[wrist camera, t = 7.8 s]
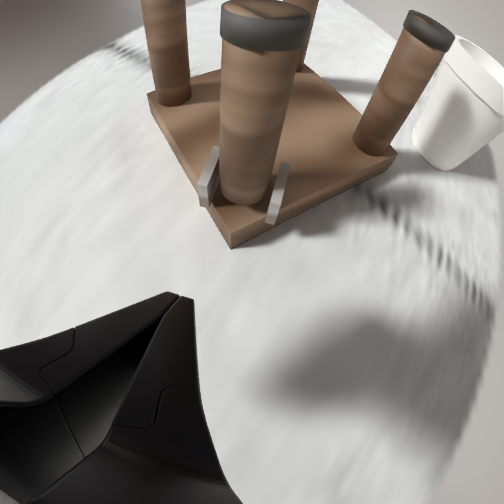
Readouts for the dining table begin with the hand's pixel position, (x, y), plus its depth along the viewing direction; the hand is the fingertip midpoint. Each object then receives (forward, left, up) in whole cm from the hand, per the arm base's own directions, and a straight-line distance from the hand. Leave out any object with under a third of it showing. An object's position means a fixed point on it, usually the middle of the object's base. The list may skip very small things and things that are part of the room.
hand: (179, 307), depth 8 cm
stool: (+17, 0, -10) cm, 20 cm away
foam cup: (+24, -18, -10) cm, 32 cm away
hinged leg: (+9, 0, -6) cm, 11 cm away
